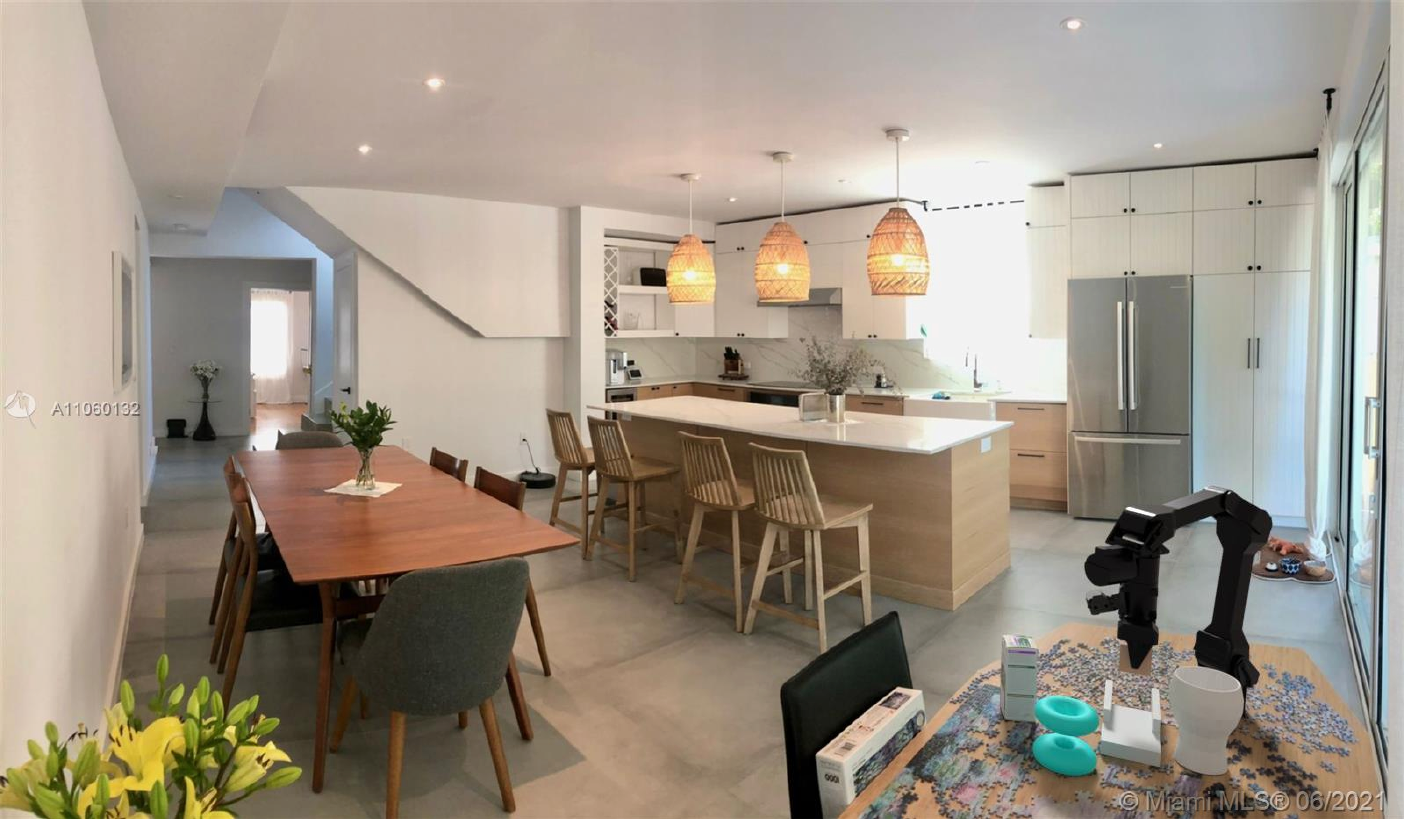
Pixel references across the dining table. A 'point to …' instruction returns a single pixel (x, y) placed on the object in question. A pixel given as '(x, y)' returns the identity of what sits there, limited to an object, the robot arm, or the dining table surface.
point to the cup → (1204, 716)
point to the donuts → (1065, 735)
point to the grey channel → (1131, 730)
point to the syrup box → (1018, 678)
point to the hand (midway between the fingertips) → (1134, 662)
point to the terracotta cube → (1126, 666)
